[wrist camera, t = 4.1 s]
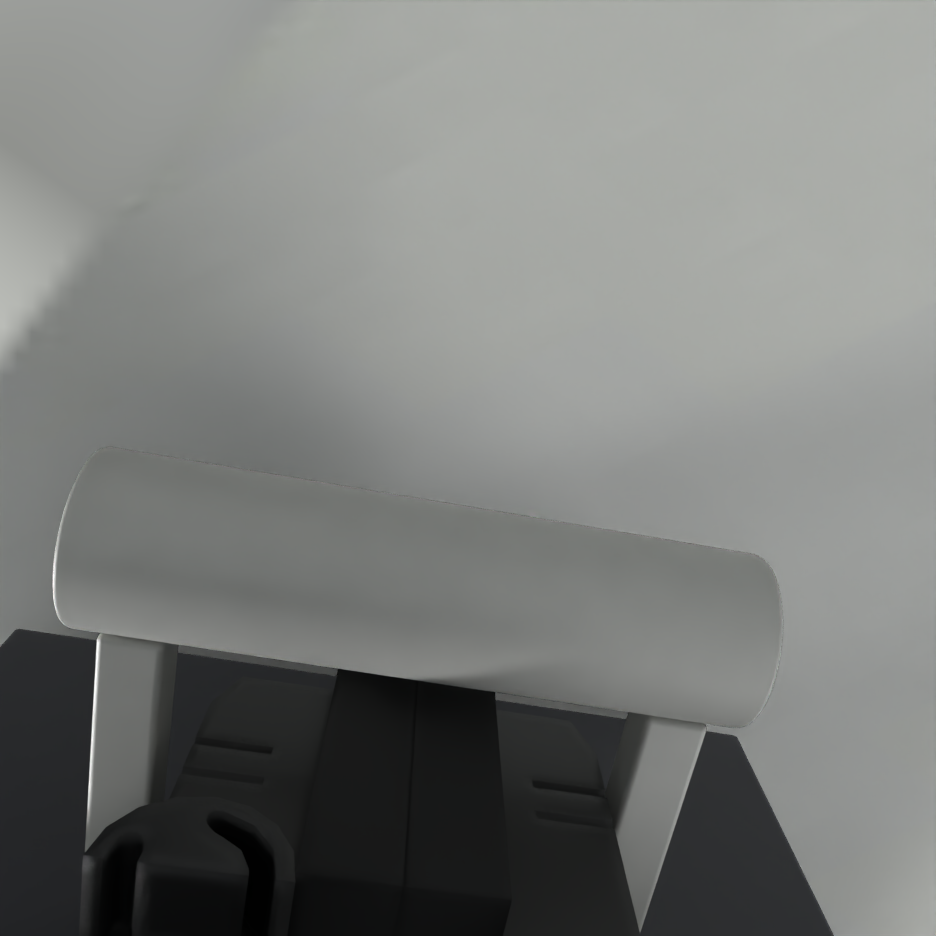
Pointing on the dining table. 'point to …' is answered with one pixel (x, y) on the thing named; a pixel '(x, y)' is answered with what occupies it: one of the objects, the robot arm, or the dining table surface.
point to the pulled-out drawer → (393, 667)
